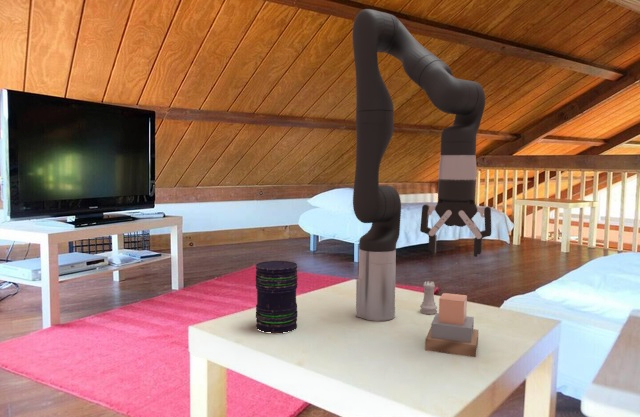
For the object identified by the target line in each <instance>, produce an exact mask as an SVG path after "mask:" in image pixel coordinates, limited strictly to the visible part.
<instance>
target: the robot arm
mask: <svg viewBox="0 0 640 417" xmlns="http://www.w3.org/2000/svg"><path fill="white" fill-rule="evenodd" d="M353 22H354V23H353V25H352V48H353V57H354V67H355V68H354V70H355V81H356V82H355V85H356V86H355V88H356V89H355V90H356V91H355V92H356V103H355V104H356V105H355V106H356V107H355V127H356V128H355V129H356V130H355V133H356V135H355V136H356V144H355V145H356V148H355V150H356V152H355V153H356V154H355V170H354V171H355V172H354V183H353V194H352V207H353V213H354V215H355V217H356V219H357V220H358V221H359V222H361V223H364V224H371V227H370V228H369V230H368V231H367V232H366V233H364V234H363V235H362V236H361V237H360V238H359V240H358V241H359V244H358V254H359V255H358V278H357V279H356V280H355V281H356V283H355V284H356V285H355V286H356V288H355V289H356V290H355V291H356V293H355V295H356V296H355V297H356V298H355V300H356V302H355V303H356V304H355V305H356V306H355V316H356V318H357V317H359V318H361V319H364V320H368V321H377V322H378V321H379V322H382V321H383V322H384V321H389V320H392V319H394V318H395V316H396V267H397V265H396V264H397V263H396V262H397V260H396V255H397V244H398V240H399V237H400V233H401V232H400V231H401V230H400V229H401V216H402V215H401V214H402V203H401V197H400V194H399V192H398V191H397V189H396V188H395V187H393V186H391V185H387V184H386V185H380V184H379V182H380V180H379V178H380V167H381V162H382V159H383V158H384V154H385V153H386V151H387V149H388V147H389V145H390V143H391V141H392V138H393V136H394V135H393V134H394V125H395V124H394V123H395V122H394V121H395V120H394V119H395V118H394V116H395V115H394V113H395V112H394V110H395V109H394V102H393V99H392V97H391V94H390V91H389V89H388V87H387V86H386V83H385V81H384V79H383V77H382V73H381V72H380V67H379V59H378V53H379V54H380V53H385V54H387V55H390V56H392V57H394V58H396V59H398V60H399V61H400V62H401V63H402V67H403V69H404V72H405V74H406V75H407V77H408V78H409V79H410V80H411V81H413V83H415V85H417V86H418V87H419V88H420V89H422V90H423V91H424V92H425V94H426V96H427V97H428V99H429V100H430V102H431V103H432V105H434V107H436V108H437V109H438V110H439V111H441V112H443V113H445V114H449V115H455V117H454V120H453V124H452V125H451V126H447V127H445V128H443V130H442V131H441V135H440V136H441V137H440V158H439V163H438V179H437V180H438V184H437V185H438V186H437V189H438V190H437V203H436V205H431V204H428V203H425V204H423V205H422V208H421V219H420V226H419V228H420V230H419V231H420V232H421V233H424V234H426V235H428V251H429V252H430V251H431V254H434V255H436V254H437V240H438V238H437V235H436V234H437V232H438V231H440V229H441V227H443V226H444V225H445V226H447V227H454V226H455V227H458V228H459V227H460V228H464V227H468V229H469V230H470V231H471V233H473V235H474V239H473V240H474V241H473V257H476V258H478V256H479V255H481V253H482V245H483V244H482V243H483V242H482V240H483V238H486V237H491V236H492V207H491V206H488V205H487V206H480V207H477V205H476V195H477V194H476V192H477V191H476V190H477V189H476V188H477V175H478V173H477V158H476V155H477V135H478V131H479V130H480V129H479V128H480V125H481V121H482V119H483V115H484V114H483V113H484V110H485V106H486V94H485V91H484V88H483V86H482V85H481V84H480V83H479V82H477V81H474V80H468V79H464V78H463V79H461V78H457V77H455V76H453V70H452V69H451V68H450V66H449V65H448V64H447V63H446V62H444V61H443V60H442V59H440V58H439V57H438V56H436V55H435V54H433V53H432V52H431V51H430V50H428V49H427V48H426V47H425V46H423V45H422V44H421V43H420V42H419V41H418V40H417V39H416V38H415V37H414V35H412V33H410V31H409V30H408V29H407V27H406V26H405V25H404V24H403V23H402V21H400V19H398V17H397V16H395V15H394V14H391V13H389V12H388V13H387V12H384V11H379V10H376V9H371V8H365V9H361V10H360V11H359V12H358V13H357V15H356V16H355V18H354V21H353ZM434 211H435V212H436V214H437V216H438V217H439V219H438V220H437V221H436V223H435V224H434V226H432V227H429V216H431V215H432V214H433V212H434ZM477 213H479V214H480V218H484V230H480V229H479V227H478V226H477V224H476V223H475V222H474V220H473V218H474V217H475V216H476V214H477Z"/></svg>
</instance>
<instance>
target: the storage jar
mask: <svg viewBox="0 0 640 417" xmlns="http://www.w3.org/2000/svg"><path fill="white" fill-rule="evenodd" d="M255 269H256V270H255V290H256V304H255V319H256V320H255V322H256V325H255V328H256V327H257V328H256V330H257V329H259V330H261V331H264V332H271V333H282V334H284V333H283V332H288V331H291V332H293V331H292V330H294V329H295V330H296V329H297V328H298V323H297V321H298V317H299V316H298V303H297V289H298V270H297V269H298V263H296V262H294V261H285V260H269V261H268V260H267V261H262V262H258V263H256V264H255ZM295 330H294V331H295ZM288 333H289V332H288Z"/></svg>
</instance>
